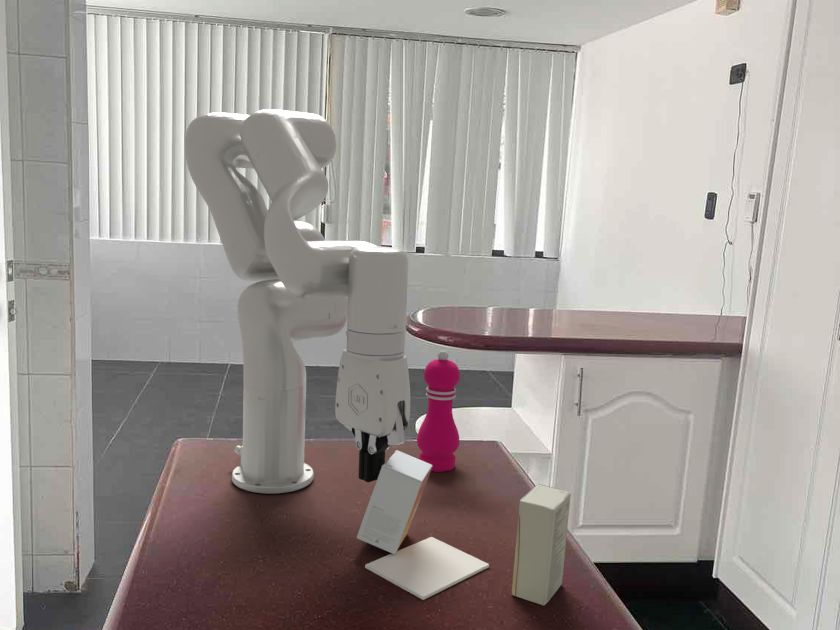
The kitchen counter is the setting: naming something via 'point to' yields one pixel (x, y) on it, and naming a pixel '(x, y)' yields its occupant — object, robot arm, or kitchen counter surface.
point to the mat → (427, 567)
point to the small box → (394, 501)
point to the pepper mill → (439, 415)
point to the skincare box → (540, 543)
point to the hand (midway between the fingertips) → (371, 478)
